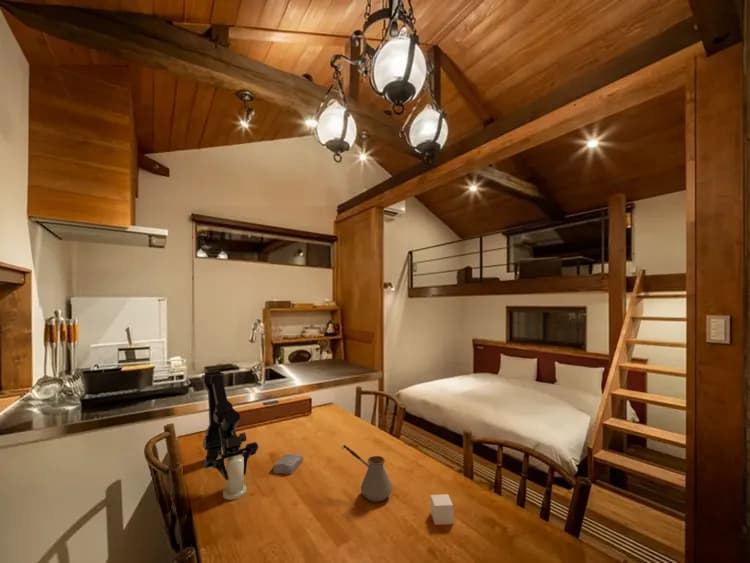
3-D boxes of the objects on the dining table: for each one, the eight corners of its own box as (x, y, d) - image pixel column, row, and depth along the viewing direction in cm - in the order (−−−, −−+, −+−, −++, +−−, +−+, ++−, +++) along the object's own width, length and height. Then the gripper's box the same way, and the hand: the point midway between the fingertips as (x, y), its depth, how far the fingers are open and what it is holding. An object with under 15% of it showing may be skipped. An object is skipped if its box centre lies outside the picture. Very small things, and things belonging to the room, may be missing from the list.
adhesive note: (430, 513, 114) (430, 494, 115) (448, 512, 115) (448, 494, 115) (435, 525, 108) (434, 505, 109) (453, 524, 109) (453, 504, 109)
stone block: (271, 477, 141) (293, 475, 139) (269, 465, 142) (291, 462, 140) (284, 465, 153) (304, 462, 151) (282, 454, 153) (303, 451, 152)
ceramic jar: (220, 492, 127) (221, 458, 128) (242, 485, 132) (243, 452, 132) (226, 502, 121) (226, 466, 121) (249, 494, 126) (249, 460, 126)
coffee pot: (397, 492, 126) (397, 451, 127) (381, 509, 117) (381, 464, 117) (351, 477, 138) (351, 439, 138) (333, 490, 128) (333, 450, 129)
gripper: (206, 432, 125) (212, 475, 116) (257, 421, 136) (266, 459, 127) (201, 447, 131) (207, 489, 121) (250, 435, 142) (259, 472, 133)
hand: (236, 477), depth 125 cm, fingers closed on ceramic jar, 6 cm apart
